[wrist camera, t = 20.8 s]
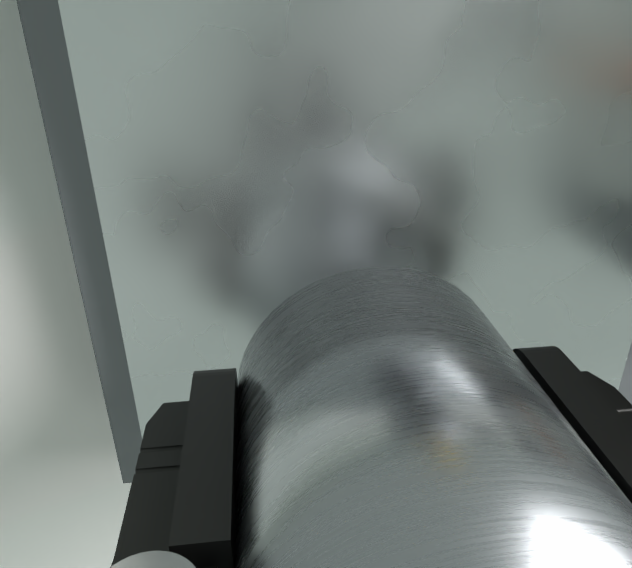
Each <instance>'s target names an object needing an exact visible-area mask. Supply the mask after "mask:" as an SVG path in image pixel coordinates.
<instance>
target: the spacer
mask: <svg viewBox="0 0 632 568" xmlns="http://www.w3.org/2000/svg"><path fill="white" fill-rule="evenodd" d="M235 568H632V503H631V502H630V501H629V499H628V498H627V497H626V496H625V494H624V493H623V492H622V490H621V489H620V488H619V487H618V485H617V484H616V483H615V481H614V480H613V479H612V478H611V476H610V475H609V474H608V472H607V471H606V470H605V469H604V467H603V466H602V465H601V463H600V462H599V461H598V460H597V458H596V457H595V456H594V454H593V453H592V452H591V451H590V449H589V448H588V447H587V445H586V444H585V443H584V442H583V440H582V439H581V438H580V436H579V435H578V434H577V433H576V431H575V430H574V429H573V427H572V426H571V425H570V424H569V422H568V421H567V420H566V418H565V417H564V416H563V415H562V413H561V412H560V411H559V409H558V408H557V407H556V406H555V404H554V403H553V402H552V400H551V399H550V398H549V397H548V395H547V394H546V393H545V391H544V390H543V389H542V388H541V386H540V385H539V384H538V382H537V381H536V380H535V379H534V377H533V376H532V375H531V373H530V372H529V371H528V370H527V368H526V367H525V366H524V364H523V363H522V362H521V361H520V359H519V358H518V357H517V355H516V354H515V353H514V352H513V350H512V349H511V348H510V346H509V345H508V344H507V343H506V341H505V340H504V339H503V337H502V336H501V335H500V334H499V332H498V331H497V330H496V328H495V327H494V326H493V325H492V323H491V322H490V321H489V319H488V318H487V317H486V316H485V314H484V313H483V312H482V310H481V309H480V308H479V307H478V306H477V305H476V304H475V302H474V301H473V300H472V299H471V298H470V297H469V296H467V295H466V294H465V293H464V292H463V291H461V290H460V289H459V288H457V287H456V286H454V285H452V284H451V283H449V282H447V281H445V280H443V279H441V278H439V277H436V276H434V275H431V274H429V273H425V272H421V271H418V270H414V269H408V268H400V267H367V268H359V269H353V270H349V271H345V272H341V273H337V274H334V275H331V276H328V277H326V278H323V279H320V280H318V281H316V282H314V283H312V284H310V285H308V286H306V287H304V288H302V289H301V290H299V291H298V292H296V293H295V294H293V295H292V296H290V297H289V298H287V299H286V300H285V301H284V302H282V303H281V304H280V305H279V306H278V307H277V308H275V309H274V310H273V311H272V312H271V313H270V314H269V315H268V317H267V318H266V319H265V320H264V321H263V322H262V323H261V325H260V326H259V327H258V329H257V330H256V332H255V333H254V335H253V336H252V338H251V340H250V342H249V344H248V346H247V348H246V350H245V352H244V355H243V358H242V361H241V364H240V367H239V373H238V419H237V472H236V525H235Z"/></svg>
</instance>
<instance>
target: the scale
mask: <svg viewBox="0 0 632 568" xmlns="http://www.w3.org/2000/svg"><path fill="white" fill-rule="evenodd" d="M17 4H18V9H19V13H20V18H21V22H22V27H23V32H24V36H25V41H26V45H27V50H28V54H29V59H30V63H31V68H32V72H33V77H34V81H35V86H36V90H37V95H38V99H39V104H40V108H41V113H42V117H43V122H44V126H45V131H46V136H47V140H48V145H49V149H50V154H51V158H52V163H53V167H54V172H55V176H56V181H57V185H58V190H59V194H60V199H61V203H62V208H63V212H64V217H65V221H66V226H67V230H68V235H69V240H70V244H71V249H72V253H73V258H74V262H75V267H76V271H77V276H78V280H79V285H80V289H81V294H82V298H83V303H84V307H85V312H86V316H87V321H88V325H89V330H90V334H91V339H92V344H93V348H94V353H95V357H96V362H97V366H98V371H99V375H100V380H101V384H102V389H103V393H104V398H105V402H106V407H107V411H108V416H109V420H110V425H111V429H112V434H113V438H114V443H115V448H116V452H117V457H118V461H119V466H120V470H121V475H122V479H123V483H131V482H132V481H133V476H134V474H135V468H136V464H137V460H138V455H139V453H140V447H141V443H142V439H143V434H144V430H145V426H146V424H147V422H148V421H149V420H150V419H151V417H152V416H153V415H154V414H155V413H156V411H157V410H158V409H159V408H160V406H161V405H162V404H163V403H168V402H181V401H189V398H190V391H191V384H192V377H193V372H194V371H202V370H216V369H230V368H236V371H237V379H238V373H239V367H240V364H241V361H242V358H243V355H244V352H245V350H246V348H247V346H248V344H249V342H250V340H251V338H252V336H253V335H254V333H255V332H256V330H257V329H258V327H259V326H260V325H261V323H262V322H263V321H264V320H265V319H266V318H267V317H268V315H269V314H270V313H271V312H272V311H273V310H274V309H275V308H277V307H278V306H279V305H280V304H281V303H282V302H284V301H285V300H286V299H287V298H289V297H290V296H292V295H293V294H295V293H296V292H298V291H299V290H301V289H302V288H304V287H306V286H308V285H310V284H312V283H314V282H316V281H318V280H320V279H323V278H326V277H328V276H331V275H334V274H337V273H341V272H345V271H349V270H353V269H359V268H367V267H400V268H408V269H414V270H418V271H421V272H425V273H429V274H431V275H434V276H436V277H439V278H441V279H443V280H445V281H447V282H449V283H451V284H452V285H454V286H456V287H457V288H459V289H460V290H461V291H463V292H464V293H465V294H466V295H467V296H469V297H470V298H471V299H472V300H473V301H474V302H475V304H476V305H477V306H478V307H479V308H480V309H481V310H482V312H483V313H484V314H485V316H486V317H487V318H488V319H489V321H490V322H491V323H492V325H493V326H494V327H495V328H496V330H497V331H498V332H499V334H500V335H501V336H502V337H503V339H504V340H505V341H506V343H507V344H508V345H509V346H510V348H511V349H512V350H513V349H516V348H530V347H544V346H556V347H558V348H559V349H560V350H562V352H563V353H564V354H565V355H566V356H567V357H568V358H569V359H570V360H571V361H572V362H573V364H574V365H575V366H576V367H577V368H578V369H579V370H580V371H588V372H590V373H592V374H593V375H595V376H597V377H599V378H600V379H602V380H604V381H605V382H607V383H609V384H610V385H612V386H614V387H615V388H616V389H617V390H618V391H619V392H620V393H621V394H622V395H623V396H624V397H625V398H626V399H627V400H628V401H629V402H630V403H631V404H632V0H17Z"/></svg>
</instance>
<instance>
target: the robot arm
mask: <svg viewBox="0 0 632 568" xmlns="http://www.w3.org/2000/svg"><path fill="white" fill-rule="evenodd" d="M513 352H514V353H515V354H516V355H517V357H518V358H519V359H520V361H521V362H522V363H523V364H524V366H525V367H526V368H527V370H528V371H529V372H530V373H531V375H532V376H533V377H534V379H535V380H536V381H537V382H538V384H539V385H540V386H541V388H542V389H543V390H544V391H545V393H546V394H547V395H548V397H549V398H550V399H551V400H552V402H553V403H554V404H555V406H556V407H557V408H558V409H559V411H560V412H561V413H562V415H563V416H564V417H565V418H566V420H567V421H568V422H569V424H570V425H571V426H572V427H573V429H574V430H575V431H576V433H577V434H578V435H579V436H580V438H581V439H582V440H583V442H584V443H585V444H586V445H587V447H588V448H589V449H590V451H591V452H592V453H593V454H594V456H595V457H596V458H597V460H598V461H599V462H600V463H601V465H602V466H603V467H604V469H605V470H606V471H607V472H608V474H609V475H610V476H611V478H612V479H613V480H614V481H615V483H616V484H617V485H618V487H619V488H620V489H621V490H622V492H623V493H624V494H625V496H626V497H627V498H628V499H629V501H630V502H631V503H632V404H631V403H630V402H629V401H628V400H627V399H626V398H625V397H624V396H623V395H622V394H621V393H620V392H619V391H618V390H617V389H616V388H615V387H614V386H612V385H610V384H609V383H607V382H605V381H604V380H602V379H600V378H599V377H597V376H595V375H593V374H592V373H590V372H588V371H580V370H579V369H578V368H577V367H576V366H575V365H574V364H573V362H572V361H571V360H570V359H569V358H568V357H567V356H566V355H565V354H564V353H563V352H562V350H560V349H559V348H558V347H556V346H544V347H530V348H516V349H513ZM237 419H238V379H237V371H236V368H230V369H216V370H202V371H194V372H193V377H192V384H191V391H190V398H189V401H181V402H168V403H163V404H162V405H161V406H160V408H159V409H158V410H157V411H156V413H155V414H154V415H153V416H152V417H151V419H150V420H149V421H148V422H147V424H146V426H145V430H144V434H143V439H142V443H141V447H140V453H139V455H138V460H137V464H136V468H135V474H134V476H133V481H132V485H131V489H130V493H129V497H128V502H127V506H126V510H125V514H124V518H123V523H122V527H121V531H120V535H119V540H118V544H117V548H116V552H115V556H114V559H113V562H112V565H111V567H110V568H235V525H236V472H237Z"/></svg>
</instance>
